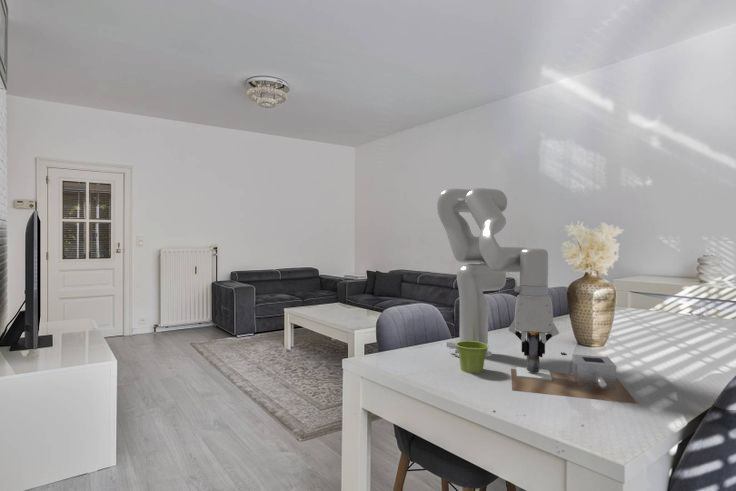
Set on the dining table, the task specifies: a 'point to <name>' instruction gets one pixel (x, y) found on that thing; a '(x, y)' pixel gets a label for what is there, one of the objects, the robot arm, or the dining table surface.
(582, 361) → the block
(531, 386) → the walnut board
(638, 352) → the dining table surface
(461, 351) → the plant pot
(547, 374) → the mat
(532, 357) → the key peg
